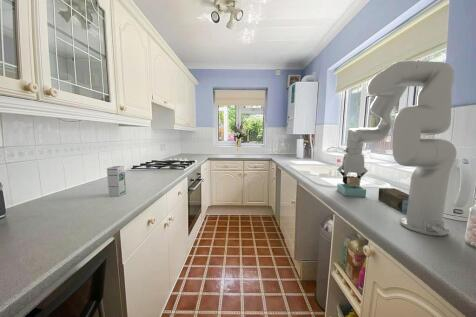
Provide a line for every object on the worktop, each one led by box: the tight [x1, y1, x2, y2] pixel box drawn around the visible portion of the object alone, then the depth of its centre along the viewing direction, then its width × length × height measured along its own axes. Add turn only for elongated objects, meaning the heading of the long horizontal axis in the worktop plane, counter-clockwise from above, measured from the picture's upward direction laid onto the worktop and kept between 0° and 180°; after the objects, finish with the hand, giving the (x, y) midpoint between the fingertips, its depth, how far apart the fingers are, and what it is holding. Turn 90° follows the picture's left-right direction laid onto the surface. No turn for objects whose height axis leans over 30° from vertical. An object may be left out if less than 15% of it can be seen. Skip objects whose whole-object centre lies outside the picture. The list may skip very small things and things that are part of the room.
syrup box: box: [106, 165, 127, 197], centre depth 107 cm, size 6×6×14 cm
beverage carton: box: [377, 187, 409, 214], centre depth 98 cm, size 8×19×7 cm, turn 173°
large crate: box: [336, 183, 367, 198], centre depth 117 cm, size 12×11×4 cm
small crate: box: [346, 175, 361, 186], centre depth 116 cm, size 7×6×4 cm
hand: (351, 183), depth 116 cm, fingers closed on small crate, 6 cm apart
